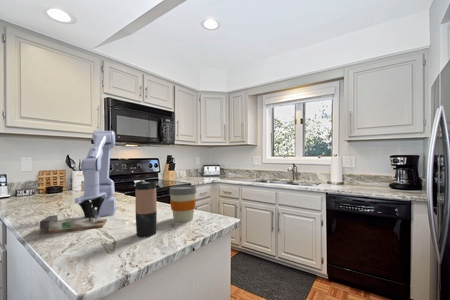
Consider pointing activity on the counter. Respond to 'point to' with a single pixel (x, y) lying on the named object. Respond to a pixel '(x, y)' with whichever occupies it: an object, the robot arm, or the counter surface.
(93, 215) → the gauge slider
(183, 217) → the reusable coffee cup
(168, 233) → the counter surface
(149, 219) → the travel mug
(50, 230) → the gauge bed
